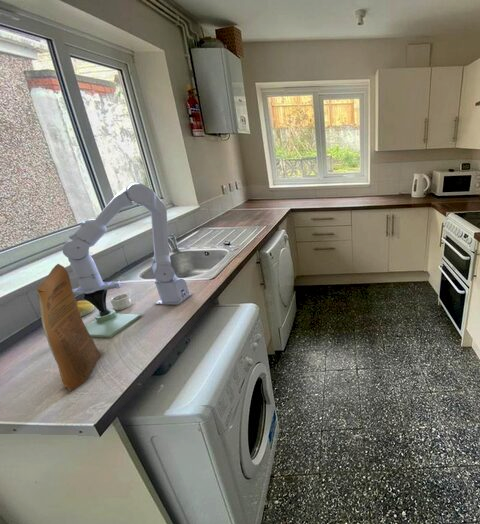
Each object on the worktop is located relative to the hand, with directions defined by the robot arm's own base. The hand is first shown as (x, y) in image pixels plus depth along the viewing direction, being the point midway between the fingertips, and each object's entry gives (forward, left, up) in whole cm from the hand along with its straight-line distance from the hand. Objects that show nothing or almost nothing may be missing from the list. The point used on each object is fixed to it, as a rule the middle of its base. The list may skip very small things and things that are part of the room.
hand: (103, 310), depth 99 cm
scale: (-4, +3, -4) cm, 7 cm away
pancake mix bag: (-17, +22, -4) cm, 28 cm away
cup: (+2, -9, -4) cm, 10 cm away
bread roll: (+15, -4, -4) cm, 16 cm away
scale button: (0, 0, -2) cm, 2 cm away
